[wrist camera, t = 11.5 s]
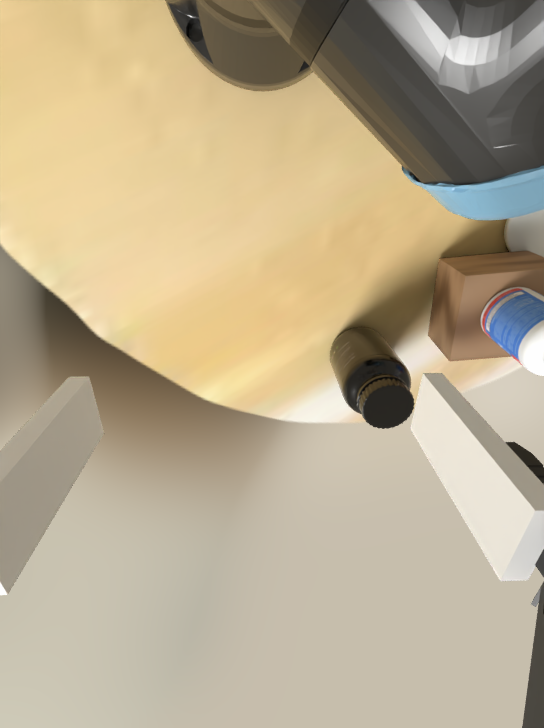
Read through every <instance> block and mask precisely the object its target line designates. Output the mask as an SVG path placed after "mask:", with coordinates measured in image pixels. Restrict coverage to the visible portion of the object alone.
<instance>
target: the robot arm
mask: <svg viewBox="0 0 544 728" xmlns="http://www.w3.org/2000/svg"><path fill="white" fill-rule="evenodd" d="M165 1H166V3H167V6H168V9H169V11H170V13H171V16H172V18H173V20H174V22H175V24H176V26H177V28H178V29H179V31H180V33H181V35H182V37H183V38H184V40H185V42H186V43H187V45H188V46H189V48H190V49H191V51H192V52H193V53H194V55H195V56H196V57H197V58H198V59H199V60H200V61H201V62H202V63H203V64H204V65H205V66H206V67H207V68H208V69H209V70H210V71H211V72H212V73H214V74H215V75H216V76H218V77H219V78H221V79H223V80H224V81H226V82H228V83H230V84H232V85H234V86H237V87H240V88H243V89H247V90H253V91H272V90H278V89H282V88H285V87H288V86H290V85H293V84H295V83H297V82H299V81H301V80H302V79H304V78H305V77H307V76H308V75H309V74H311V73H312V72H314V73H315V74H316V75H317V76H318V77H319V78H320V79H321V80H322V81H323V82H324V83H325V84H326V85H327V86H328V88H329V89H330V90H331V91H332V92H333V93H334V94H335V95H336V96H337V97H338V98H339V99H340V100H341V101H342V102H343V103H344V105H345V106H346V107H347V108H348V109H349V110H350V111H351V112H352V113H353V114H354V115H355V116H356V117H357V118H358V119H359V120H360V121H361V123H362V124H363V125H364V126H365V127H366V128H367V129H368V130H369V131H370V132H371V133H372V134H373V135H374V136H375V137H376V138H377V139H378V141H379V142H380V143H381V144H382V145H383V146H384V147H385V148H386V149H387V150H388V151H389V152H390V153H391V154H392V155H393V156H394V157H395V159H396V160H397V161H398V162H399V163H400V164H401V165H402V171H403V172H404V174H405V175H406V176H407V177H408V179H409V180H410V181H411V182H413V183H414V184H416V185H418V186H420V187H422V188H424V189H426V190H427V191H428V192H429V193H430V194H431V195H432V196H433V197H434V198H435V199H436V200H437V201H438V202H439V203H440V204H441V205H442V206H444V207H445V208H446V209H447V210H448V211H450V212H452V213H454V214H457V215H460V216H463V217H466V218H468V219H474V220H501V219H508V218H514V217H519V216H523V215H527V214H530V213H534V212H537V211H540V210H543V209H544V0H165ZM410 429H411V431H412V433H413V434H414V436H415V438H416V439H417V441H418V443H419V444H420V446H421V448H422V450H423V451H424V453H425V455H426V456H427V458H428V460H429V461H430V463H431V465H432V466H433V468H434V470H435V471H436V473H437V475H438V476H439V478H440V480H441V482H442V483H443V485H444V487H445V488H446V490H447V492H448V493H449V495H450V497H451V498H452V500H453V502H454V503H455V505H456V507H457V509H458V510H459V512H460V514H461V515H462V517H463V519H464V521H465V522H466V524H467V526H468V527H469V529H470V530H471V532H472V534H473V536H474V537H475V539H476V541H477V542H478V544H479V546H480V547H481V549H482V551H483V553H484V554H485V556H486V558H487V559H488V561H489V563H490V564H491V566H492V568H493V569H494V571H495V573H496V574H497V576H498V578H499V580H500V581H516V580H517V581H518V580H528V579H529V577H530V575H531V573H532V572H533V570H534V568H535V566H536V567H537V568H538V570H539V571H540V573H541V574H542V575H543V577H544V467H543V465H542V463H540V461H539V460H538V459H537V458H536V457H535V456H534V455H533V454H532V453H531V452H529V451H527V450H526V449H524V448H523V447H521V446H520V445H518V444H517V443H515V442H504V441H503V440H502V438H501V437H500V436H499V435H498V434H497V433H496V432H495V431H494V430H493V429H492V427H491V426H490V425H489V424H488V423H487V422H486V421H485V420H484V419H483V418H482V417H481V416H480V414H479V413H478V412H477V411H476V410H475V409H474V408H473V407H472V406H471V405H470V403H469V402H468V401H467V400H466V399H465V398H464V397H463V396H462V395H461V394H460V393H459V391H458V390H457V389H456V388H455V387H454V386H453V385H452V384H451V383H450V382H449V380H448V379H447V378H446V377H445V376H444V375H443V374H442V373H423V375H422V380H421V384H420V388H419V393H418V397H417V401H416V406H415V410H414V414H413V419H412V423H411V428H410ZM103 434H104V431H103V427H102V423H101V419H100V416H99V412H98V408H97V404H96V401H95V397H94V393H93V389H92V385H91V382H90V378H89V377H69V378H68V379H67V380H66V381H65V382H64V383H63V384H62V385H61V386H60V387H59V388H58V389H57V390H56V391H55V392H54V394H53V395H52V396H51V397H50V398H49V399H48V400H47V401H46V402H45V403H44V404H43V405H42V406H41V408H39V410H38V411H37V412H36V413H35V414H34V415H33V416H32V417H31V418H30V419H29V420H28V421H27V422H26V424H25V425H24V426H23V427H22V428H21V429H20V430H19V431H18V432H17V433H16V434H15V435H14V436H13V437H12V438H11V440H10V441H9V442H8V443H7V444H6V445H5V446H4V447H3V448H2V449H1V450H0V595H8V593H9V592H10V590H11V588H12V587H13V585H14V583H15V582H16V580H17V578H18V577H19V575H20V573H21V571H22V570H23V568H24V566H25V565H26V563H27V562H28V560H29V558H30V556H31V555H32V553H33V551H34V550H35V548H36V546H37V545H38V543H39V541H40V540H41V538H42V536H43V535H44V533H45V531H46V530H47V528H48V526H49V525H50V523H51V521H52V519H53V518H54V516H55V515H56V513H57V511H58V509H59V508H60V506H61V505H62V503H63V501H64V500H65V498H66V496H67V494H68V493H69V491H70V489H71V488H72V486H73V484H74V483H75V481H76V479H77V478H78V476H79V474H80V472H81V471H82V469H83V468H84V466H85V464H86V463H87V461H88V459H89V458H90V456H91V454H92V452H93V451H94V449H95V447H96V446H97V444H98V443H99V441H100V439H101V438H102V436H103ZM538 602H539V605H538V613H537V620H536V628H535V636H534V643H533V651H532V659H531V666H530V673H529V681H528V689H527V696H526V704H525V711H524V719H523V726H522V728H544V582H543V584H542V586H541V587H540V589H539V591H538V593H537V594H536V596H535V597H534V599H533V601H532V603H531V604H532V605H533V606H535V607H536V606H537V604H538Z"/></svg>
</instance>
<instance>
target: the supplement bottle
mask: <svg viewBox="0 0 544 728" xmlns="http://www.w3.org/2000/svg"><path fill="white" fill-rule="evenodd" d="M330 362H331V365H332V368H333V371H334V373H335V376H336V379H337V381H338V384H339V387H340V389H341V392H342V395H343V397H344V399H345V401H346V403H347V404H348V405H349V407H350V408H352V409H353V410H354V411H356V412H358V413H360V414H362V416H363V418H364V419H365V420H366V422H367V423H369V424H370V425H372V426H373V427H377V428H382V429H384V428H391V427H395V426H398V425H399V424H401V423H403V422H404V421H405V420H407V418H408V417H409V416H410V414H411V413H412V410H413V409H414V407H413V406H414V398H413V395H412V393H411V392H410V388H411V377H410V374H409V371H408V369H407V368H406V366H405V365H404V364H403V362H402V361H401V360H400V358H399V357H398V356H397V354H396V353H395V352H394V351H393V349H392V348H391V347H390V345H389V344H388V343H387V342H386V340H385V339H384V338H383V337H382V336H381V335H380V334H379V333H378V332H377V331H375V330H373V329H370V328H366V327H356V328H352V329H349V330H347V331H345V332H343V333H342V334H341V335H340V336H338V337H337V339H336V340H335V341H334V343H333V345H332V347H331V350H330Z"/></svg>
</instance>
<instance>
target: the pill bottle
mask: <svg viewBox="0 0 544 728" xmlns="http://www.w3.org/2000/svg"><path fill="white" fill-rule="evenodd" d="M481 326H482V329H483V331H484V332H485V333H486V334H487V335H488V336H489V337H490V338H491V339H492V340H493V341H494V342H496V343H497V344H498V345H499V346H500V347H502V348H503V349H504V350H505V351H506V352H507V353H509V354H510V355H511V356H512V357H513V358H514V359H516V360H517V361H518V362H519V363H520V364H521V365H522V366H524V367H525V368H526V369H528V370H529V371H531V372H532V373H534V374H537V375H541V376H544V296H543V295H541V294H539V293H537V292H536V291H534V290H531V289H529V288H525V287H513V288H509V289H506V290H504V291H502V292H500V293H498V294H497V295H495V296H494V297H493V298H492V299H491V300H490V301H489V302H488V303H487V305H486V306H485V308H484V310H483V312H482V315H481Z"/></svg>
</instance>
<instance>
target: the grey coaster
mask: <svg viewBox="0 0 544 728" xmlns="http://www.w3.org/2000/svg"><path fill="white" fill-rule="evenodd" d="M504 239H505V243H506V246H507V248H508V250H509V251H510V252H516V251H527V250H528V251H530V252H533V253H535V254H537V255H540V256H542V257H544V209H543V210H540V211H537V212H534V213H530V214H527V215H523V216H519V217H514V218H508V219H507V220H506V223H505V228H504Z"/></svg>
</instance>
